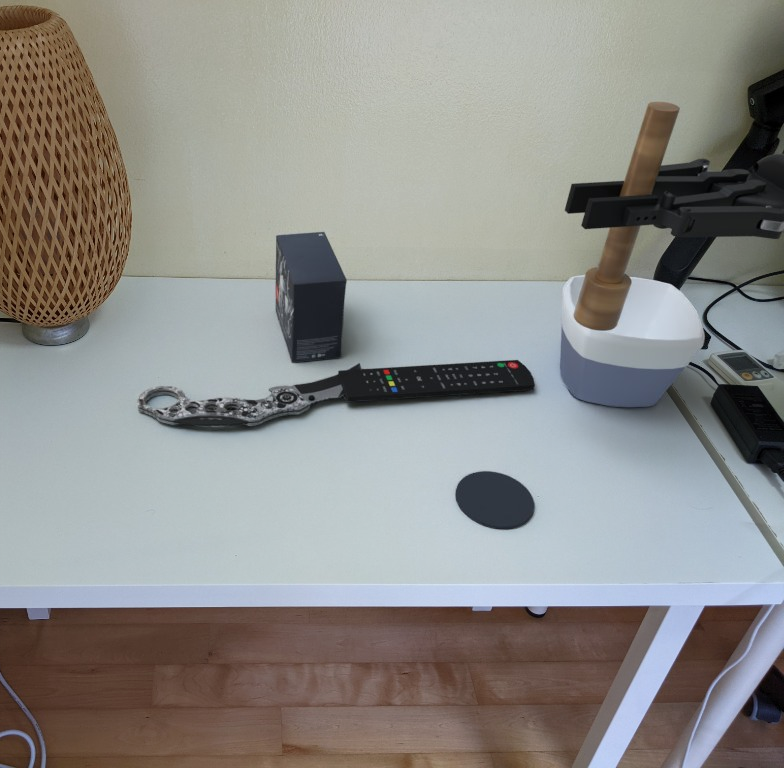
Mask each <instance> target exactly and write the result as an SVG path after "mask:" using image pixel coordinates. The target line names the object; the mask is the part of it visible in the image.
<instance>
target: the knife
mask: <svg viewBox="0 0 784 768" xmlns="http://www.w3.org/2000/svg"><path fill="white" fill-rule="evenodd" d="M361 366H362V365H361V363H360V362H358V363H357V364H355V365H353V366H351V367H350V368H347V370H356V369H362V367H361ZM268 391H269V392H270V393H271V394H270V395H269V396H268V397H265V398H260V399H259V398H258V399H246V398H241V397H229V396H227V397H226V396H225V397H214V398H208V399H203V400H191V399H188V398H187V397H186V394H185V393H184V391H183V390H182V389H180V388H178V387H176V386H172V385H158V386H153V387H150V388H148V389H146V390H144V391H143V392H142V393H140V394H139V396H138V397H137V399H136V403H137V411H138V412H140V413H143V414H146V415H148V416H151V417H153V418H155V419H156V420H157V421H158V422H160V423H163V424H167V425H172V426H175V425H179V424H180V425H188V426H198V427H199V426H201V427H229V426H230V427H231V426H240V425H241V426H242V425H245V426H249V427H253V426H257V425H258V426H259V425H262V424H263V423H265V422H267V421H269V420H272V419H275V418H279V417H282V416H284V417H285V416H289V415H290V416H291V415H292V416H293V415H301V414H303V413H304V412H306V411H308V410H309V409H310V407H311V405H313V404H315V403H319V402H320V401H321V402H323V401H324V400H326V401H327V400H330V399H331V400H332V399H340V398H341V397H344V396H343V395H344V391H343V388H342V386H341V383H340V381H339V378H338V373H337V374H334V375H331V376H327V377H324V378H321V379H318V380H315V381H310V382H303V383H296V384H293V385H276V386H271V387H269V388H268ZM165 395H167V396H172V397H174V398H176V399H177V400H178V401H176V402H175V403H174V404H172V405H170V406H167V407H153V406H150V405H148V404H147V402H148V400H150V399H152V398H154V397H156V396H165Z"/></svg>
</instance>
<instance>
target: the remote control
mask: <svg viewBox="0 0 784 768" xmlns="http://www.w3.org/2000/svg"><path fill="white" fill-rule="evenodd" d="M337 374H338V378H339V381H340V383H341V386H342V388H343V391H344V395H343V396H342V397H343V398H344V400H345V401H346V402H347V403H351V402H352V403H353V402H368V401H382V400H383V401H384V400H398V399H399V400H400V399H413V398H426V397H427V398H428V397H430V398H431V397H443V396H455V395H456V396H457V395H458V396H460V395H474V394H488V393H501V392H502V393H505V392H518V391H519V392H520V391H521V392H522V391H533V390H535V386H536V384H535V378H534V376H533V374H532V372H531V371H530V369H529V368H528V367H527V366H526V365H525V364H524V363H522V362H521V361H520V360H519V359H510V360H492V361H490V360H489V361H475V362H460V363H459V362H458V363H457V362H456V363H441V364H425V365H424V364H423V365H411V366H410V365H407V366H392V367H390V366H389V367H376V368H361V369H356V370H348V369H340V370H338V371H337Z"/></svg>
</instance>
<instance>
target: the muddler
mask: <svg viewBox="0 0 784 768" xmlns="http://www.w3.org/2000/svg"><path fill="white" fill-rule="evenodd" d="M680 108H681V107H679V106H678V105H676V104H674V103H670V102H667V101H651V102H649V103H647V105H646V109H645V112H644V116H643V119H642V122H641V125H640V128H639V132H638V135H637V138H636V141H635V145H634V148H633V151H632V154H631V157H630V160H629V164H628V167H627V171H626V174H625V177H624V180H623V181H624V183H623V187H622V190H621V193H620V196H637V195H651V194H652V191H653V188H654V185H655V182H656V179H657V176H658V173H659V170H660V167H661V165H662V164H663V162H664V161H663V160H664V158H665V155H666V152H667V149H668V146H669V143H670V140H671V137H672V134H673V130H674V128H675V125H676V122H677V120H678V119H677V118H678V117H679V116H678V115H679V113H680ZM620 196H619V197H620ZM640 229H641V226H628V227H612V228H608V232H607V235H606V238H605V241H604V245H603V248H602V251H601V254H600V258H599V261H598V264H597V266H596V267H591V268H588V270H587V271H586V272H585V274H584V275H585V278H584V281H583V284H582V288H581V291H580V294H579V298H578V301H577V304H576V308H575V311H574V315H573V316H574V319H575V320H576V322H578V323H579V324H580V325H582V326H584V327H586V328H589V329H592V330H598V331H608V330H612V329H614V328H615V327H616V326H617V324H618V321H619V319H620V316H621V313H622V310H623V307H624V304H625V301H626V298H627V295H628V292H629V290H630V287H631V284H632V281H631V278H630V277H631V276H629V275H628V274H626V271H627V269H628V265H629V262H630V259H631V256H632V252H633V250H634V248H635V245H636V240H637V238H638V235H639V232H640Z"/></svg>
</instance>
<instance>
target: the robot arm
mask: <svg viewBox="0 0 784 768" xmlns="http://www.w3.org/2000/svg"><path fill="white" fill-rule="evenodd" d="M710 163H711V160H709V159H707V158H697V159H694V160H692V161H689V162H681V163H671V164H663V165H662V164H661V167H660V170H659V173H658V176H657V179H656V182H655V185H654V188H653V191H652V194H651V195H637V196H620V193H621V190H622V187H623V183H624V180H612V181H594V182H577V183H575V182H574V183H571V185H570V189H569V191H568V195H567V200H566V203H565V206H564V212H565V213H567V214H568V215H569V214H583V218H582V221H581V225H580V226H581V227H582V229H584V230H595V229H597V230H598V229H610V228H612V227H628V226H640V227H641V226H653V227H655V228H657V229H660V230H663V229H664V230H665V229H671V231H670V235H672V236H673V237H675V238H726V237H727V238H729V237H731V238H733V237H737V238H738V237H755V238H762V239H769V240H770V239H771V240H779V239H780V238H781V237H782V234H784V153H774V154H770V155H767V156H764V157H762V158H760V159H759V160H758V161H757V162H755V163H754V164H753V165H752V166H750V167H749V168H748V169H743V168H731V169H725V170H722V171H716V170H713V169H710V168H709V167H710ZM619 196H620V197H619Z"/></svg>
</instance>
